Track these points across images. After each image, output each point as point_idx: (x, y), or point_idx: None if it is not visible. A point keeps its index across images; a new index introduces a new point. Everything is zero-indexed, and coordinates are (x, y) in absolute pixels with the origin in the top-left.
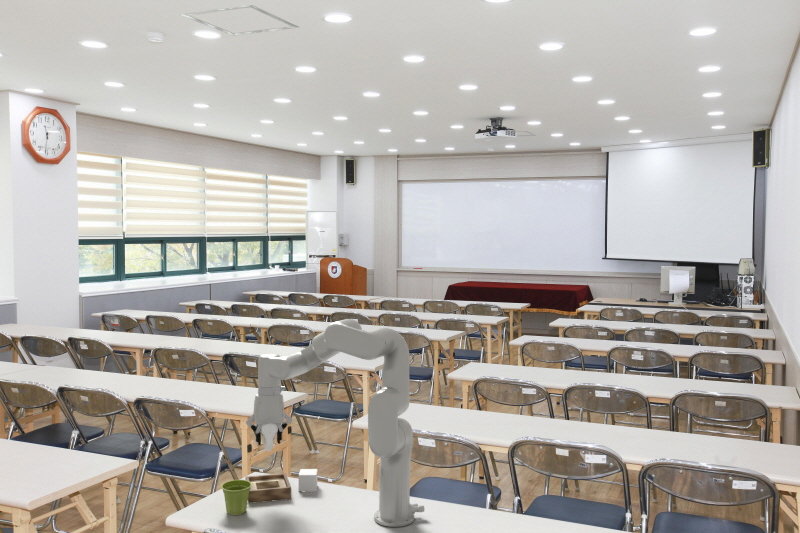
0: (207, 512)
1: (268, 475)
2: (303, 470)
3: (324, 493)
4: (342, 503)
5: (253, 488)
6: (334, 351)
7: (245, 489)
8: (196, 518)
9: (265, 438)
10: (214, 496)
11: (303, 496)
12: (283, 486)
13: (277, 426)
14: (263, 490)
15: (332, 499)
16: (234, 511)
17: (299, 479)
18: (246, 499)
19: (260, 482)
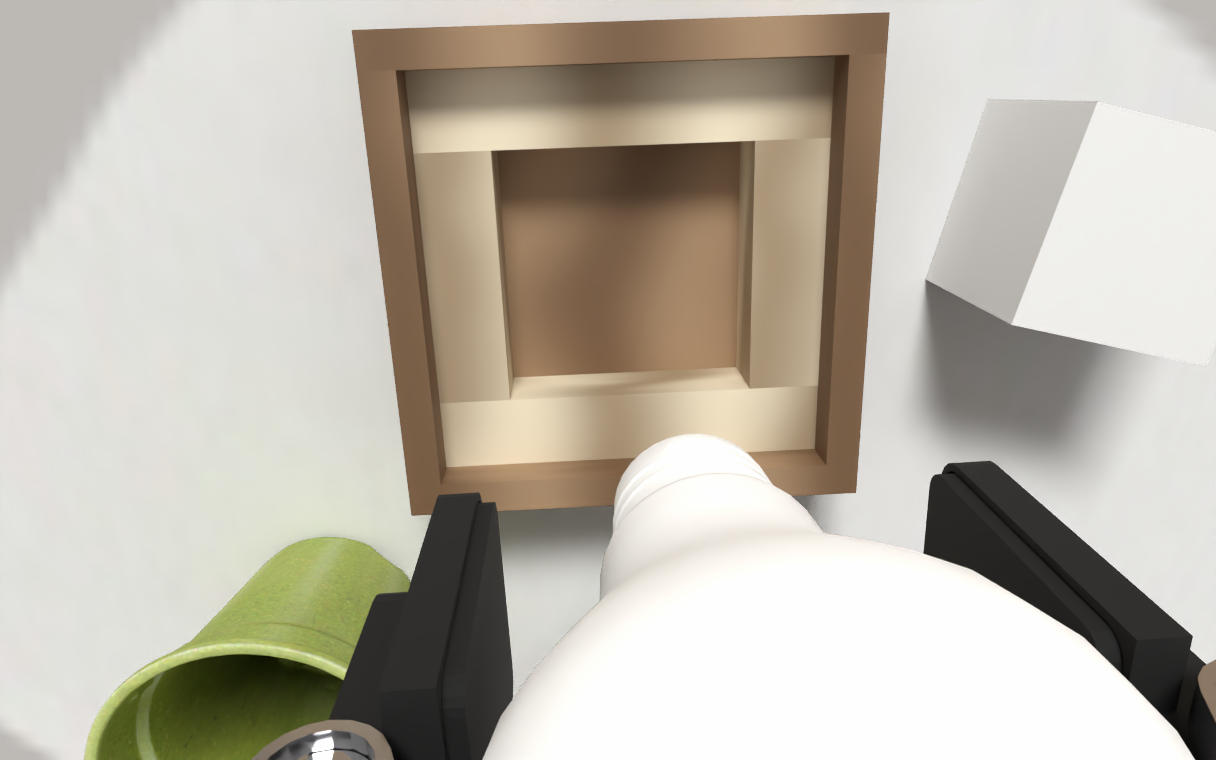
0: (87, 580)
1: (656, 59)
2: (1117, 171)
3: (1146, 370)
4: (1204, 603)
5: (467, 331)
6: None
7: None
8: (21, 672)
9: None
10: (71, 225)
11: (942, 402)
12: (790, 335)
13: None
14: (568, 504)
15: (1161, 513)
16: (317, 696)
17: (994, 312)
18: None
19: (549, 147)
